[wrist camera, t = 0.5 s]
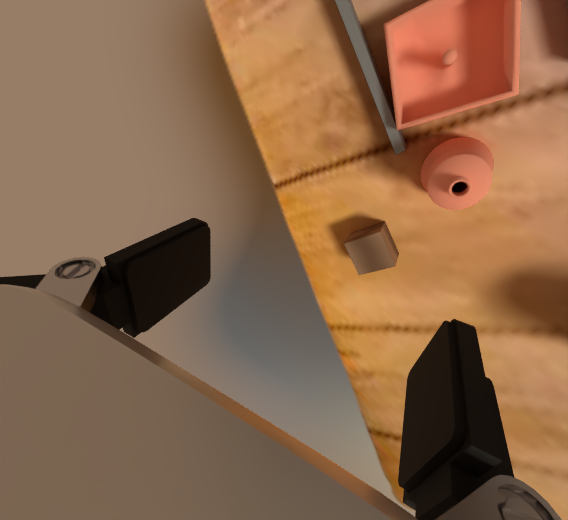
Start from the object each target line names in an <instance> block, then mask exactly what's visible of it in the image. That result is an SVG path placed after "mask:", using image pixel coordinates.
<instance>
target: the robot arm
mask: <svg viewBox="0 0 568 520" xmlns="http://www.w3.org/2000/svg"><path fill="white" fill-rule="evenodd" d="M104 259H105V262H106V265H105V266H104V267H102V266H101V264H100V262H99V261H98V260H96V259H93V258H88V257H80V258H72V259H68V260H65V261H62V262H60V263H58V264H56V265H55V266H54V267H52V268H51V270H50V271H49V272H48V273H47V274H45V275H29V276H14V277H0V520H561V518H560V517H559V516H558V514H557V513H556V512H555V511H554V509H553V508H552V507H551V506H550V504H549V503H548V502H547V501H546V500H545V499H544V498H543V497H542V496H541V495H540V494H538V493H537V492H536V491H535V490H534V489H533V488H531V487H530V486H528V485H527V484H525V483H524V482H523V481H520V480H518V479H516V478H514V474H513V470H512V465H511V461H510V457H509V452H508V448H507V443H506V439H505V434H504V430H503V426H502V421H501V417H500V412H499V408H498V403H497V399H496V395H495V390H494V386H493V383H492V381H491V380H490V379H489V378H487V377H485V372H484V367H483V362H482V358H481V353H480V348H479V343H478V338H477V333H476V329H475V327H474V326H471V325H469V324H466V323H463V322H461V321H458V320H456V319H453V320H452V321H451V322H449V321H444V322H443V323H442V325H441V326H440V328H439V329H438V331H437V332H436V334H435V335H434V336H433V338H432V339H431V341H430V342H429V344H428V345H427V347H426V348H425V350H424V351H423V353H422V354H421V356H420V357H419V359H418V360H417V361H416V363H415V364H414V366H413V367H412V369H411V370H410V372H409V375H408V379H407V388H406V399H405V410H404V421H403V432H402V443H401V454H400V465H399V476H398V483H399V486H400V487H402V488H404V495H403V503H405V504H406V505H408V506H410V507H411V508H413V509H414V510H416V516H415V517H414V516H413V515H411V514H410V513H408V512H407V511H406V510H404V509H403V508H401V507H400V506H398V505H397V504H396V503H394V502H393V501H391V500H390V499H388V498H387V497H386V496H384V495H383V494H382V493H380V492H379V491H377V490H375V489H374V488H373V487H371V486H369V485H368V484H366V483H365V482H363V481H362V480H360V479H358V478H357V477H355V476H354V475H352V474H351V473H349V472H348V471H346V470H345V469H343V468H341V467H340V466H338V465H337V464H335V463H334V462H332V461H331V460H329V459H327V458H326V457H324V456H322V455H321V454H320V453H318V452H316V451H315V450H313V449H312V448H310V447H308V446H307V445H305V444H304V443H302V442H300V441H299V440H297V439H296V438H294V437H292V436H291V435H289V434H288V433H286V432H284V431H283V430H281V429H280V428H278V427H276V426H275V425H273V424H271V423H270V422H268V421H267V420H265V419H263V418H262V417H260V416H258V415H257V414H255V413H254V412H252V411H250V410H249V409H247V408H245V407H244V406H242V405H241V404H239V403H238V402H236V401H234V400H233V399H231V398H229V397H228V396H226V395H225V394H223V393H221V392H220V391H218V390H216V389H215V388H213V387H212V386H210V385H208V384H207V383H205V382H203V381H202V380H200V379H198V378H197V377H195V376H193V375H192V374H190V373H189V372H187V371H185V370H184V369H182V368H181V367H179V366H177V365H176V364H174V363H172V362H171V361H169V360H168V359H166V358H164V357H163V356H161V355H159V354H158V353H156V352H154V351H153V350H151V349H149V348H148V347H146V346H145V345H143V344H141V343H140V342H138V341H136V340H135V339H133V338H131V337H130V336H128V335H126V334H125V333H123V332H121V331H120V330H119V329H121V328H122V327H123V330H124V332H126V333H127V334H129V335H131V336H132V337H136V336H137V335H138V334H140V333H141V332H145V331H147V330H149V329H150V328H151V327H152V326H154V325H155V324H156V323H157V322H159V321H160V320H161V319H163V318H164V317H165V316H167V315H168V314H169V313H171V312H172V311H173V310H174V309H176V308H177V307H178V306H179V305H181V304H182V303H184V302H185V301H186V300H188V299H189V298H190V297H191V296H193V295H194V294H195V293H196V292H198V291H199V290H200V289H202V288H203V287H204V286H206V285H207V284H208V282H209V281H210V228H209V227H208V224H207V223H206V222H204V221H201V220H199V219H196V218H191V219H189V220H187V221H185V222H183V223H180V224H178V225H176V226H173V227H171V228H169V229H167V230H164V231H162V232H160V233H158V234H155V235H154V236H151V237H149V238H147V239H144V240H142V241H140V242H138V243H135V244H133V245H131V246H129V247H126V248H124V249H122V250H120V251H117V252H115V253H113V254H111V255H108V256H106V257H104Z"/></svg>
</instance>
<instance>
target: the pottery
mask: <svg viewBox="0 0 568 520" xmlns="http://www.w3.org/2000/svg"><path fill="white" fill-rule="evenodd" d="M520 16H521V0H429V1H427V2H425V3H423V4H421V5H419V6H417V7H415V8H414V9H412V10H410V11H408V12H406V13H404V14H402V15H400V16H398V17H396V18H394V19H392V20H390V21H388V22H386V23H384V32H385V40H386V48H387V56H388V64H389V72H390V80H391V88H392V96H393V104H394V111H395V119H396V127H397V130H401V129H404V128H407V127H411V126H414V125H417V124H421V123H424V122H428V121H431V120H434V119H438V118H441V117H444V116H448V115H451V114H454V113H458V112H461V111H464V110H468V109H471V108H475V107H478V106H481V105H485V104H488V103H491V102H495V101H498V100H501V99H505V98H508V97H511V96H515V95H518V94H519V57H520ZM493 165H494V160H493V156H492V153H491V152H490V150H489V148H488V147H487V146H486V145H485V144H484V143H482V142H480V141H479V140H476V139H473V138H468V137H459V138H453V139H450V140H447V141H445V142H443V143H441V144H439V145H438V146H436V147H435V148H434V149H433V150H432V151H431V152H430V153H429V154H428V156H427V157H426V159H425V161H424V162H423V165H422V168H421V182H422V185H423V187H424V189H425V190H426V191H427V192H428V193H429V196H430V198H431V199H432V200H433V201H434V202H435V203H436V204H437V205H439V206H441V207H443V208H446V209H451V210H458V209H464V208H467V207H470V206H472V205H474V204H476V203H477V202H479V201H480V200H481V199H482V198H483V197H484V196H485V195H486V193H487V192H488V190H489V188H490V186H491V183H492V171H493Z"/></svg>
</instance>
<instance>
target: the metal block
mask: <svg viewBox="0 0 568 520" xmlns="http://www.w3.org/2000/svg"><path fill="white" fill-rule="evenodd" d="M344 245H345V247H346V249H347V251H348V253H349V256H350V258H351V260H352V262H353V264H354V266H355V268H356V270H357V272H358V274H359V275H362V274H366V273H370V272H374V271H378V270H382V269H386V268H390V267H394V266H396V262H397V258H398V255H399V253H398V250H397V248H396V246H395V243H394V241H393V239H392V236H391V234H390V232H389V229H388V227H387V225H386V222H382V223H379V224H376V225H373V226H370V227H368V228H365V229H362V230H359V231H356V232H354V233H351V234H350V236H349V237H348V239H347V240H346V242H345V243H344Z"/></svg>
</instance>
